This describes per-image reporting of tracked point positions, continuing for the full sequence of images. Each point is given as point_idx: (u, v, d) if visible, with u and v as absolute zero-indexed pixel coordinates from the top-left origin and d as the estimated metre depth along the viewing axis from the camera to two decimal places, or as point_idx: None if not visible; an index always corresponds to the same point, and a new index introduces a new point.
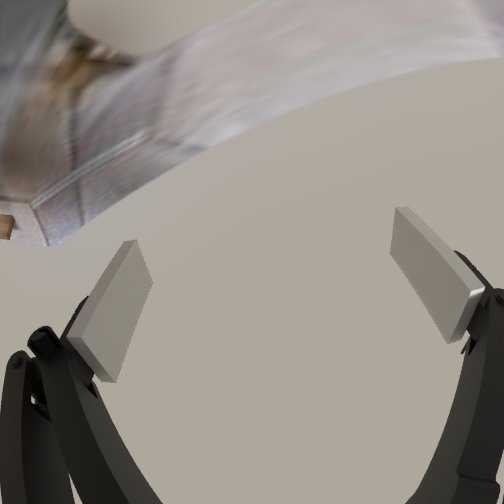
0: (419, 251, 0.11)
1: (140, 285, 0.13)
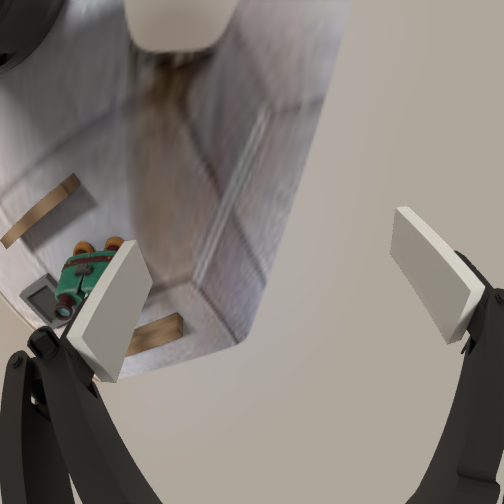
0: (419, 251, 0.11)
1: (140, 285, 0.13)
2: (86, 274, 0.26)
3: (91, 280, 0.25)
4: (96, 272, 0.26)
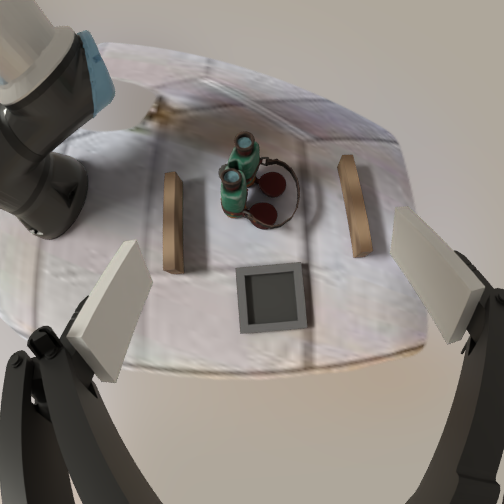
0: (419, 251, 0.11)
1: (140, 285, 0.13)
2: None
3: None
4: None
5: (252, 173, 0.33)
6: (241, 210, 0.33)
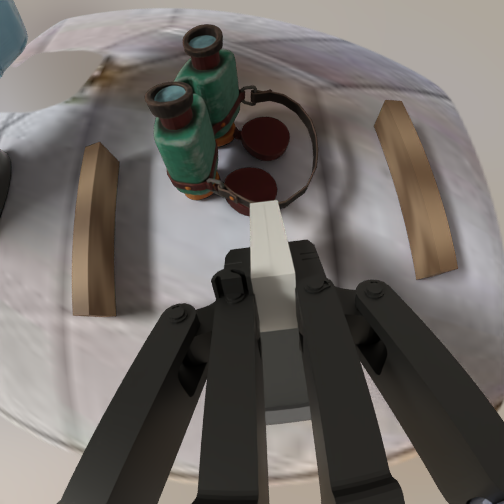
0: None
1: None
2: None
3: None
4: None
5: (225, 111, 0.16)
6: (204, 177, 0.16)
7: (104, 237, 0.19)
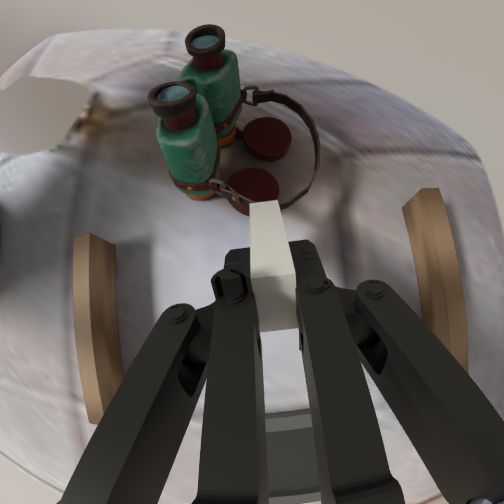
0: None
1: None
2: None
3: None
4: None
5: (227, 111, 0.16)
6: (206, 177, 0.16)
7: (109, 341, 0.17)
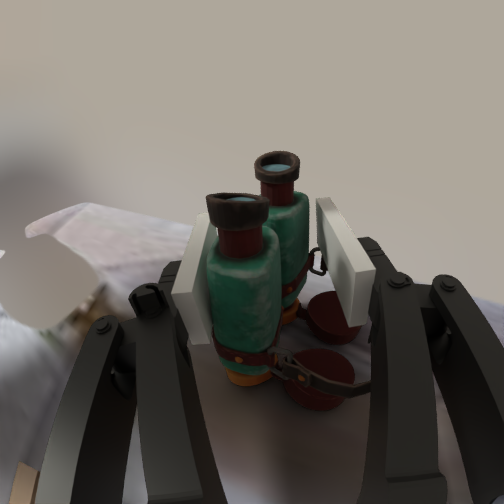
0: (329, 238, 0.13)
1: None
2: None
3: None
4: None
5: (294, 270, 0.15)
6: (265, 345, 0.11)
7: None
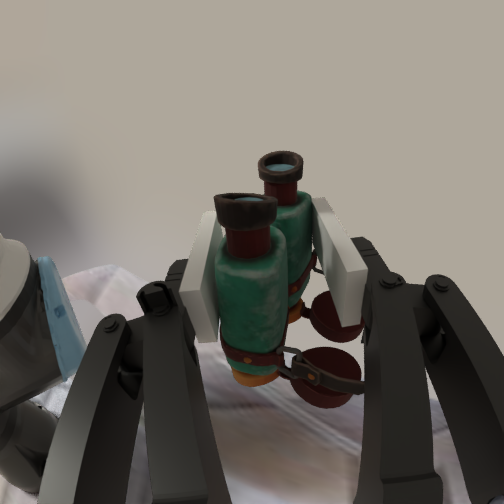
0: (323, 238, 0.13)
1: None
2: None
3: None
4: None
5: (299, 270, 0.15)
6: (274, 345, 0.11)
7: None
